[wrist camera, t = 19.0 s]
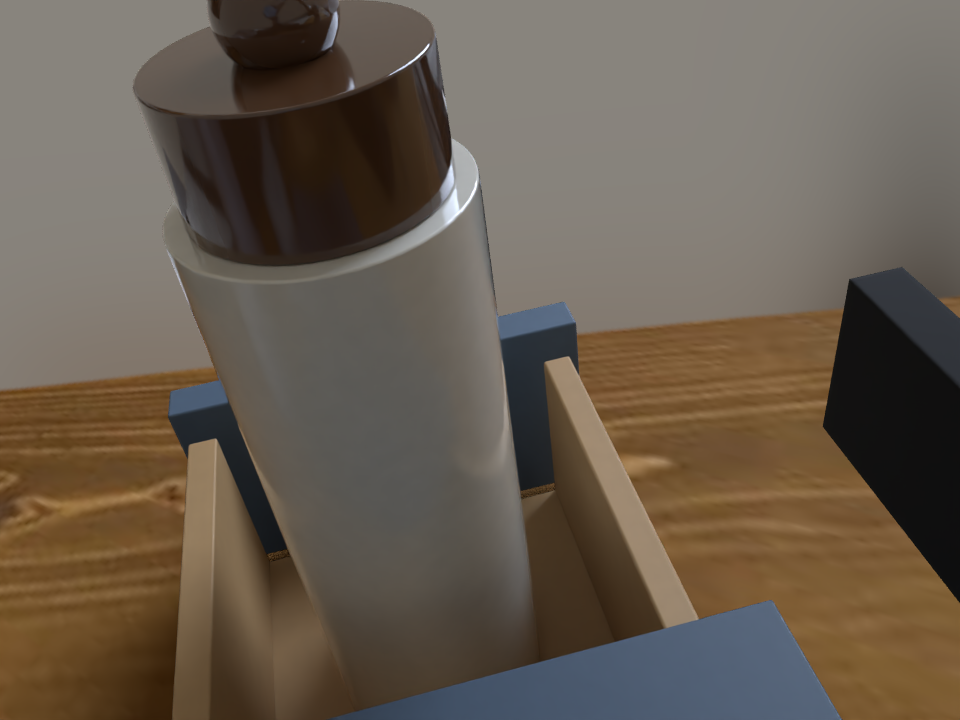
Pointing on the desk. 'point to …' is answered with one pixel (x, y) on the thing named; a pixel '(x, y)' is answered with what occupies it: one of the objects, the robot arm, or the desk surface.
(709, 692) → the cabinet
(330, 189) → the salt mill
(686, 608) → the drawer
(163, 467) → the desk surface
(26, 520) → the desk surface
